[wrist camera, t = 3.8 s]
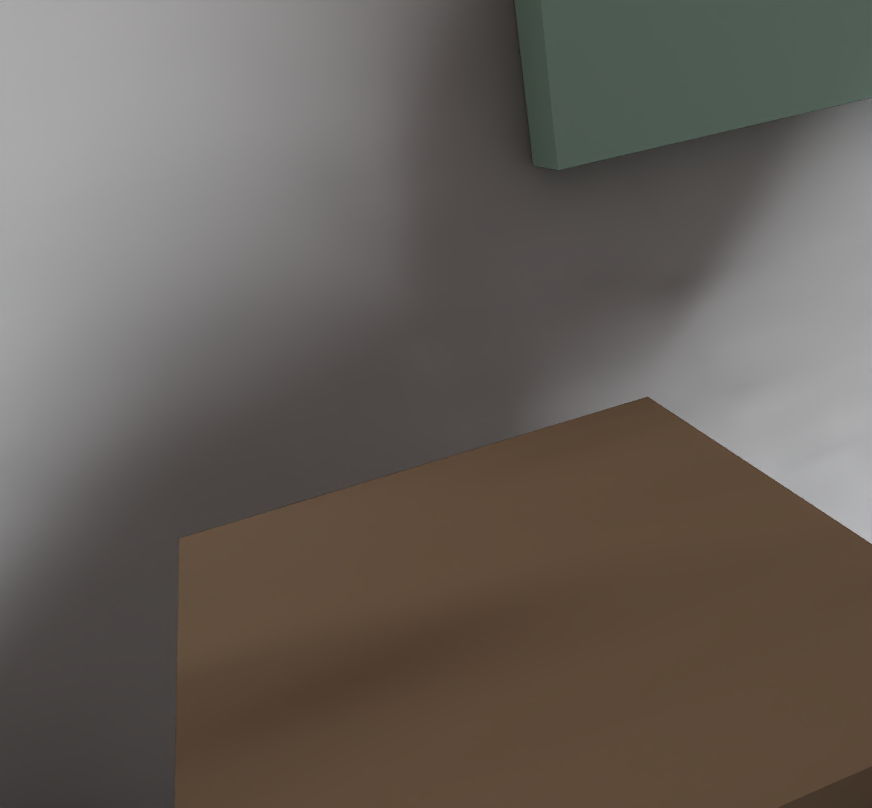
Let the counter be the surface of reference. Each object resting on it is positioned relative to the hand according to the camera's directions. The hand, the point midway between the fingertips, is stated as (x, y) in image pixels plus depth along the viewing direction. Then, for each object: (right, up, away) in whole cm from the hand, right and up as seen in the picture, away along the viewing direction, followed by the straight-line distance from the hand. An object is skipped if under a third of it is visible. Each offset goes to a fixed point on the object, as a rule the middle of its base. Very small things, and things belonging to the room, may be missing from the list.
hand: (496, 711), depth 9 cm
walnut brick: (0, 0, +1) cm, 1 cm away
